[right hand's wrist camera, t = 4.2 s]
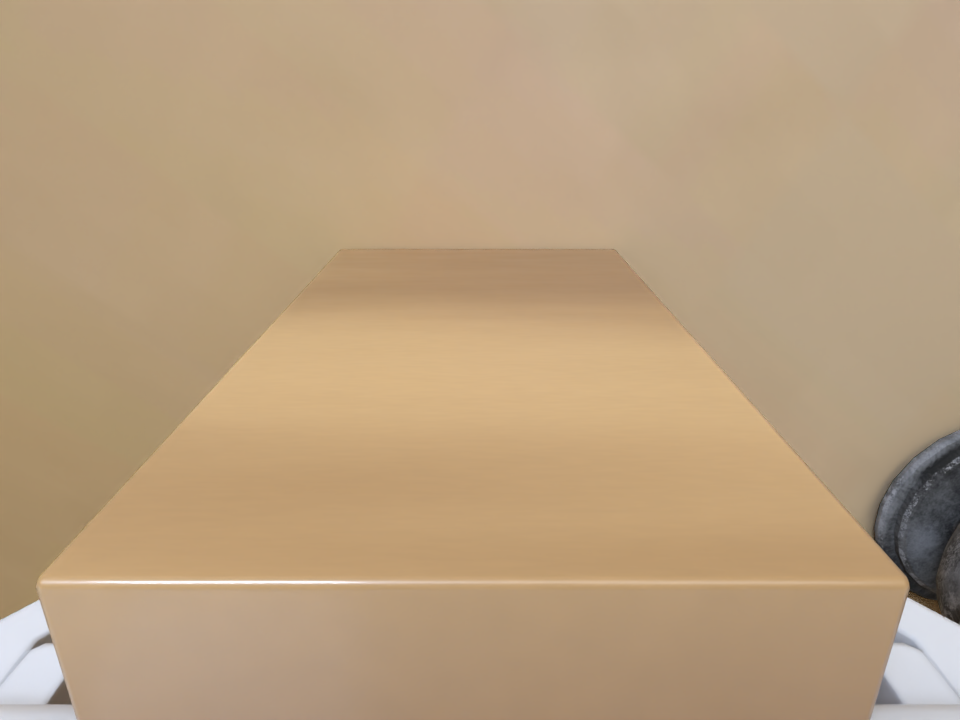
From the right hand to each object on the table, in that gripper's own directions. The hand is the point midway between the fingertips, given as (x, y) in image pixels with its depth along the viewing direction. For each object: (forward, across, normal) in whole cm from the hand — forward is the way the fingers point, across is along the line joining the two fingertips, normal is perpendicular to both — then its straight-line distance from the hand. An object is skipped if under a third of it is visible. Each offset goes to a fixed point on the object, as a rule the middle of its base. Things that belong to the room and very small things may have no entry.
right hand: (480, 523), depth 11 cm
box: (+5, 0, -10) cm, 11 cm away
